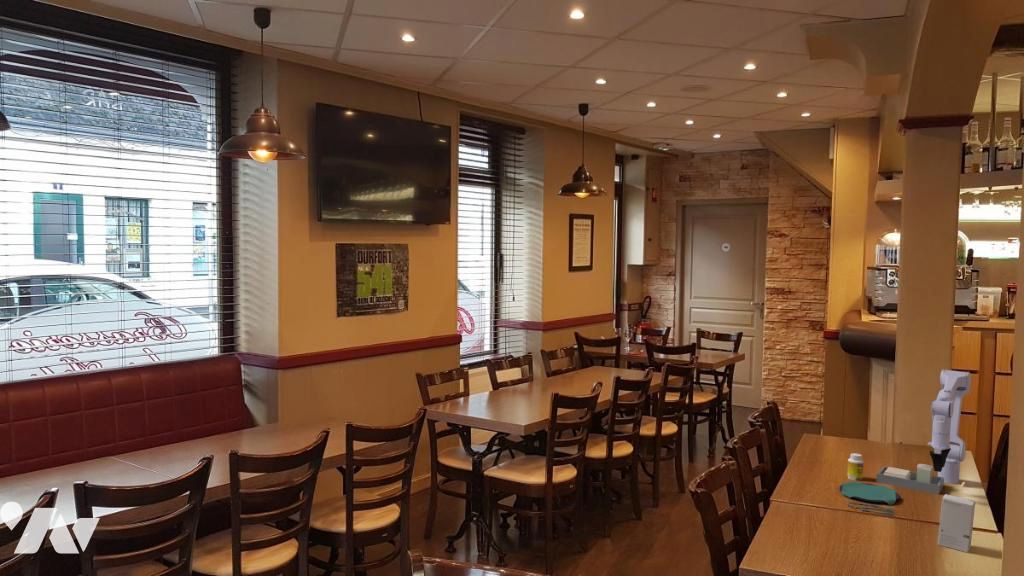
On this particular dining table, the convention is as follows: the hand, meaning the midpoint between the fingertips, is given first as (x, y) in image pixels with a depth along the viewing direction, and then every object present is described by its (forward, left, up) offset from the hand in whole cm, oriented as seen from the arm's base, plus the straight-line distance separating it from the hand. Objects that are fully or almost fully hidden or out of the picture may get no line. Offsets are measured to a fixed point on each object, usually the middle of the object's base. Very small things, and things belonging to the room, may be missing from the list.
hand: (939, 468), depth 264 cm
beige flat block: (-5, -15, -9) cm, 18 cm away
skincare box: (+51, +11, -10) cm, 53 cm away
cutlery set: (+23, -19, -11) cm, 31 cm away
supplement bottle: (+2, -28, -10) cm, 30 cm away
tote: (-5, -10, -10) cm, 15 cm away
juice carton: (-5, -5, -9) cm, 12 cm away
